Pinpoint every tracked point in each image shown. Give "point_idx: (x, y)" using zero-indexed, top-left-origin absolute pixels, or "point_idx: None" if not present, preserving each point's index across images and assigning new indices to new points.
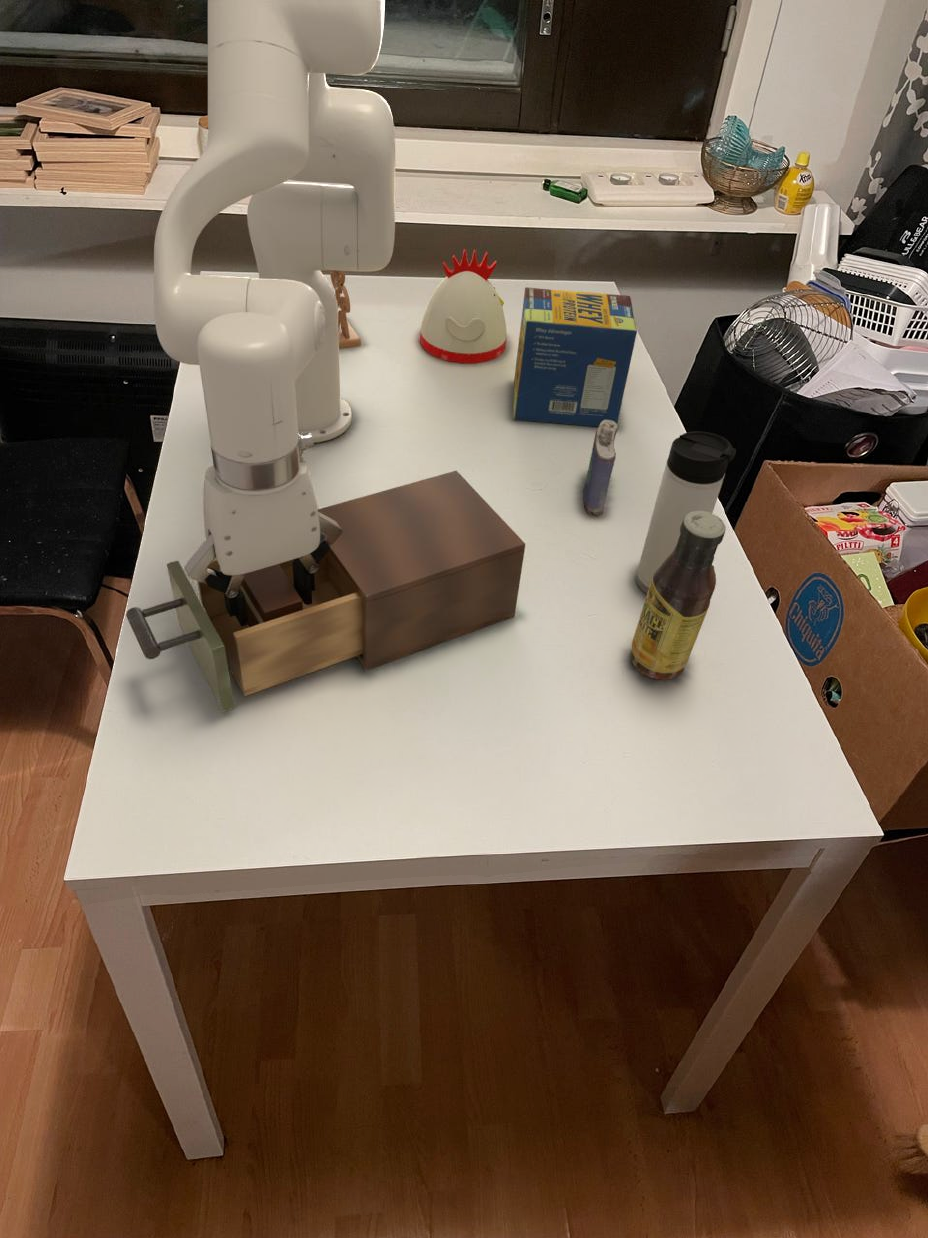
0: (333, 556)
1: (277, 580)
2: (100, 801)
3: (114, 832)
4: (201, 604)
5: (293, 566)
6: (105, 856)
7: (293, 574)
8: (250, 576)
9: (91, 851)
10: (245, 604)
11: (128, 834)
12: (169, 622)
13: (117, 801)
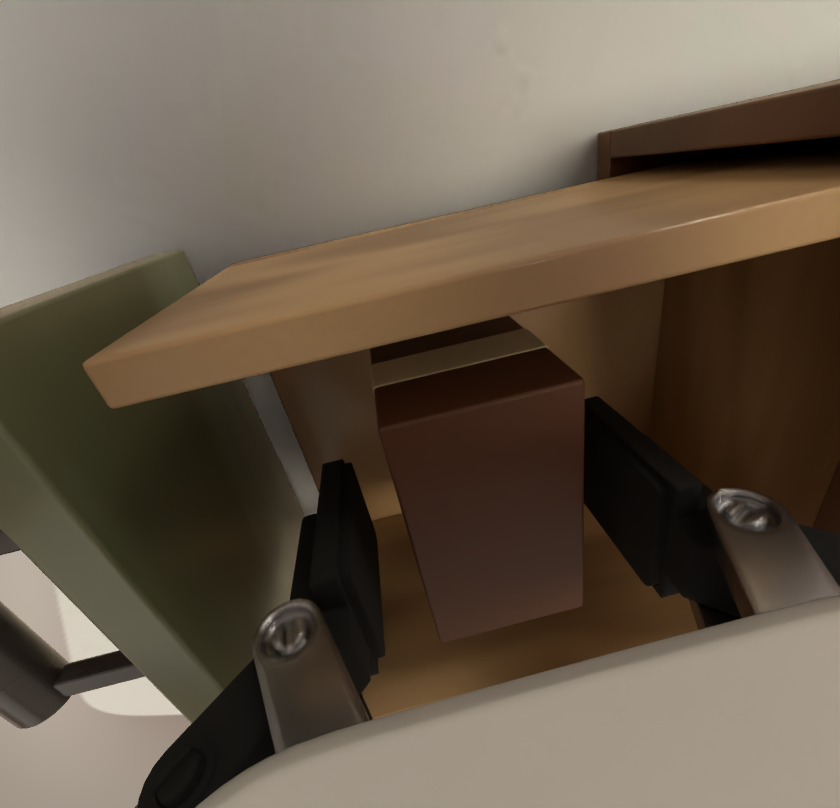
0: (838, 480)
1: (538, 518)
2: (81, 647)
3: (123, 683)
4: (191, 655)
5: (642, 486)
6: (119, 705)
7: (610, 449)
8: (430, 480)
9: (94, 701)
10: (381, 616)
11: (147, 685)
12: (108, 192)
13: (113, 648)
